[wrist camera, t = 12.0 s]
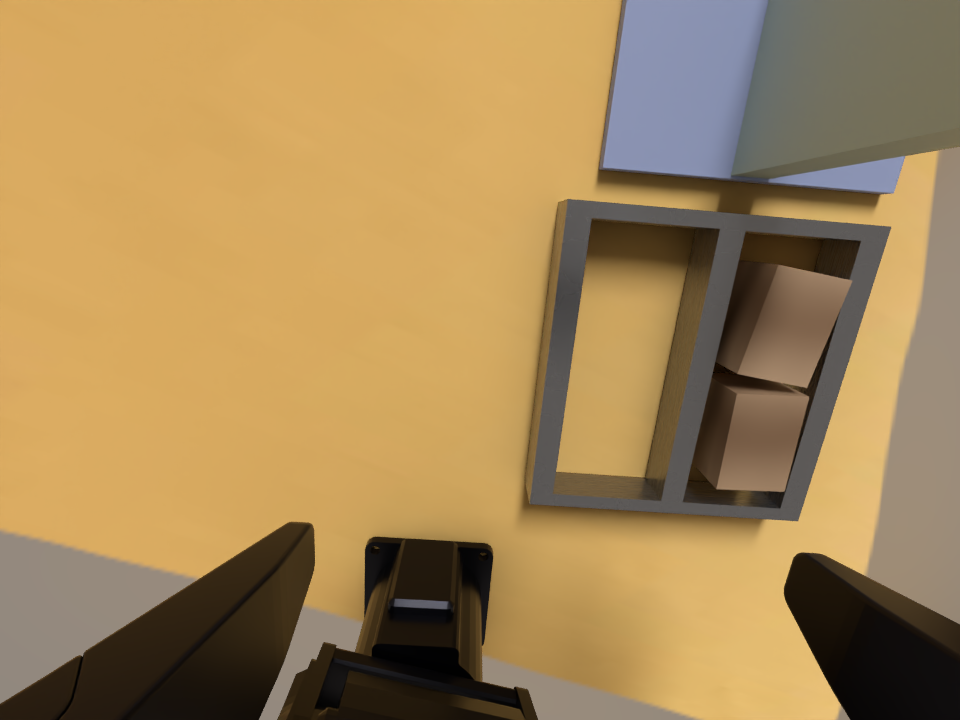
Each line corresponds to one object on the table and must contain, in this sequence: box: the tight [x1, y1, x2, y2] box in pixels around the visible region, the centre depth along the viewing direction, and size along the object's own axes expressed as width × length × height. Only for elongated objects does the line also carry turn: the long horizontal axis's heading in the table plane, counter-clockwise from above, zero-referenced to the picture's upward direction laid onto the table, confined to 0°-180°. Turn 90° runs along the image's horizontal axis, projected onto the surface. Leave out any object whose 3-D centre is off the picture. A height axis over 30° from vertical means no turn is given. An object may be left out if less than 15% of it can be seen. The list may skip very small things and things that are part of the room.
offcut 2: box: [692, 373, 809, 492], centre depth 21 cm, size 4×3×3 cm
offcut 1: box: [715, 260, 852, 388], centre depth 19 cm, size 4×3×3 cm
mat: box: [599, 0, 905, 194], centre depth 17 cm, size 9×12×1 cm
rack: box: [525, 199, 891, 521], centre depth 20 cm, size 13×13×2 cm
